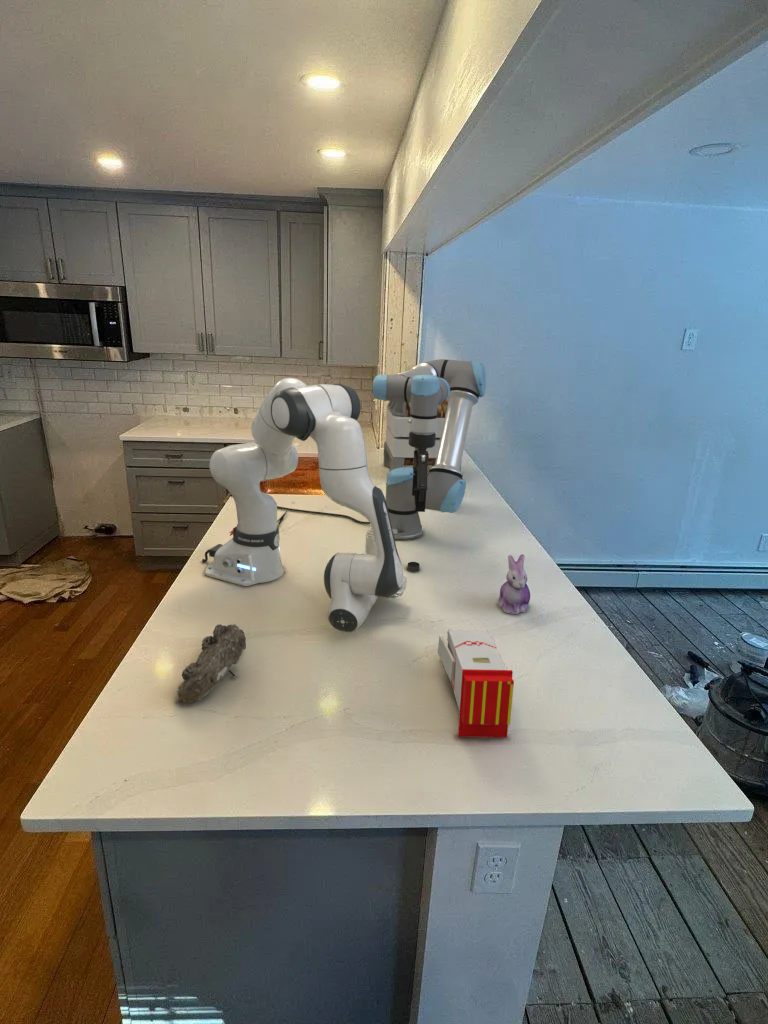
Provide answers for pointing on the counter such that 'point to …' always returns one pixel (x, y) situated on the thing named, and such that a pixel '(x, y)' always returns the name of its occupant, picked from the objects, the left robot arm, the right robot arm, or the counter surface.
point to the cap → (413, 566)
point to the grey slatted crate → (407, 435)
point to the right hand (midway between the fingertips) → (418, 503)
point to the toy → (478, 682)
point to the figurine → (515, 588)
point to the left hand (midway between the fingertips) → (374, 568)
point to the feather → (281, 518)
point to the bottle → (370, 543)
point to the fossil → (212, 662)
